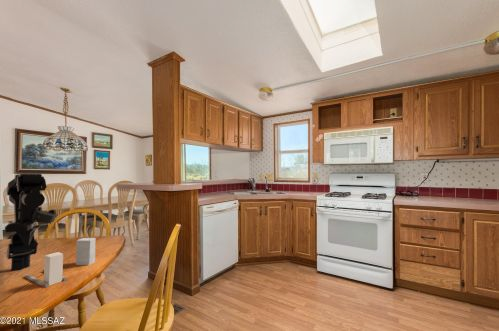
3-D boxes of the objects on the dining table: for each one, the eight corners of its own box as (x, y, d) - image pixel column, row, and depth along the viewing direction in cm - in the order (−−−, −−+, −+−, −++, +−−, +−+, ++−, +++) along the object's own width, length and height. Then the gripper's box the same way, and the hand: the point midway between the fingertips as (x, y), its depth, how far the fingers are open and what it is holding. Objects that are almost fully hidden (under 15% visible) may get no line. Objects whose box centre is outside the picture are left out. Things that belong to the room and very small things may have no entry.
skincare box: (95, 264, 106) (96, 237, 107) (89, 268, 102) (90, 240, 103) (81, 264, 106) (82, 237, 107) (75, 268, 102) (76, 240, 102)
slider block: (43, 283, 85) (44, 255, 85) (56, 278, 89) (57, 252, 89) (48, 285, 83) (50, 257, 84) (62, 281, 87) (63, 253, 87)
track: (23, 280, 89) (23, 274, 89) (45, 274, 96) (46, 268, 96) (44, 291, 81) (44, 285, 82) (67, 283, 88) (67, 277, 88)
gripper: (44, 207, 86) (42, 250, 86) (62, 202, 104) (61, 237, 103) (5, 208, 82) (2, 253, 82) (30, 202, 99) (28, 239, 99)
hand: (27, 245), depth 91 cm, fingers closed
